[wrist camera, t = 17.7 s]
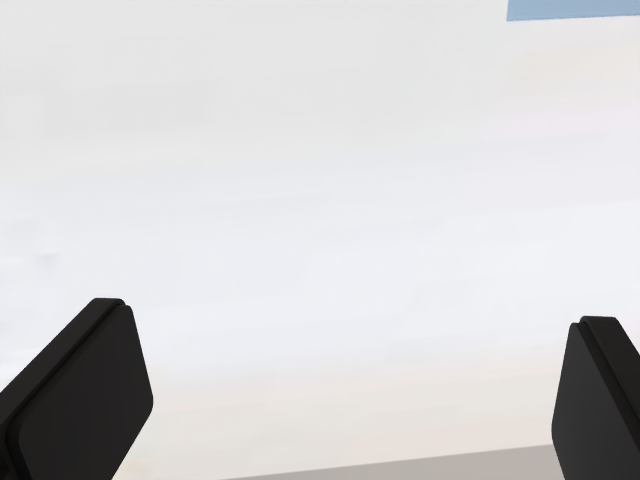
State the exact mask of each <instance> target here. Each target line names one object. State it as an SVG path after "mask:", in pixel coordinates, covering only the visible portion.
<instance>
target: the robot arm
mask: <svg viewBox="0 0 640 480" xmlns="http://www.w3.org/2000/svg"><path fill="white" fill-rule="evenodd" d="M152 408H153V394H152V390H151V386H150V382H149V378H148V374H147V369H146V365H145V361H144V357H143V353H142V349H141V344H140V340H139V336H138V332H137V328H136V324H135V319H134V315H133V311H132V309H131V307H130V306H128V305H125V302H124V301H123V300H122V299H117V298H94V299H93V300H92V301H91V302H90V303H89V304H88V305H87V306H86V307H85V308H84V309H83V310H82V311H81V312H80V313H79V314H78V315H77V316H76V317H75V318H74V319H73V320H72V321H71V322H70V323H69V324H68V325H67V326H66V327H65V328H64V329H63V330H62V331H61V332H60V333H59V334H58V335H57V336H56V337H55V338H54V339H53V340H52V341H51V342H50V343H49V344H48V345H47V346H46V347H45V348H44V349H43V350H42V351H41V352H40V353H39V354H38V355H37V356H36V357H35V358H34V359H33V360H32V361H31V362H30V363H29V364H28V365H27V366H26V367H25V368H24V369H23V370H22V371H21V372H20V373H19V374H18V375H17V376H16V377H15V378H14V379H13V380H12V381H11V382H10V383H9V384H8V385H7V386H6V387H5V388H4V389H3V391H2V392H1V393H0V480H112V478H113V476H114V475H115V473H116V471H117V470H118V468H119V466H120V464H121V463H122V461H123V459H124V458H125V456H126V454H127V453H128V451H129V449H130V448H131V446H132V444H133V443H134V441H135V439H136V437H137V436H138V434H139V432H140V431H141V429H142V427H143V426H144V424H145V422H146V421H147V419H148V417H149V415H150V414H151V411H152ZM552 440H553V444H554V447H555V450H556V453H557V456H558V460H559V463H560V466H561V468H562V472H563V475H564V478H565V480H640V355H639V353H638V351H637V350H636V348H635V347H634V345H633V344H632V342H631V340H630V339H629V337H628V336H627V334H626V332H625V331H624V329H623V328H622V326H621V324H620V323H619V321H618V320H617V319H616V318H615V317H602V316H583V317H582V318H581V319H580V322H579V323H572V324H571V325H570V328H569V333H568V339H567V344H566V349H565V355H564V360H563V366H562V371H561V377H560V382H559V387H558V393H557V398H556V404H555V409H554V414H553V420H552Z"/></svg>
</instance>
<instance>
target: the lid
mask: <svg viewBox="0 0 640 480" xmlns="http://www.w3.org/2000/svg"><path fill="white" fill-rule="evenodd" d="M628 15H640V0H508V8H507V19H506V21H520V20H542V19H563V18H585V17H607V16H628Z"/></svg>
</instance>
